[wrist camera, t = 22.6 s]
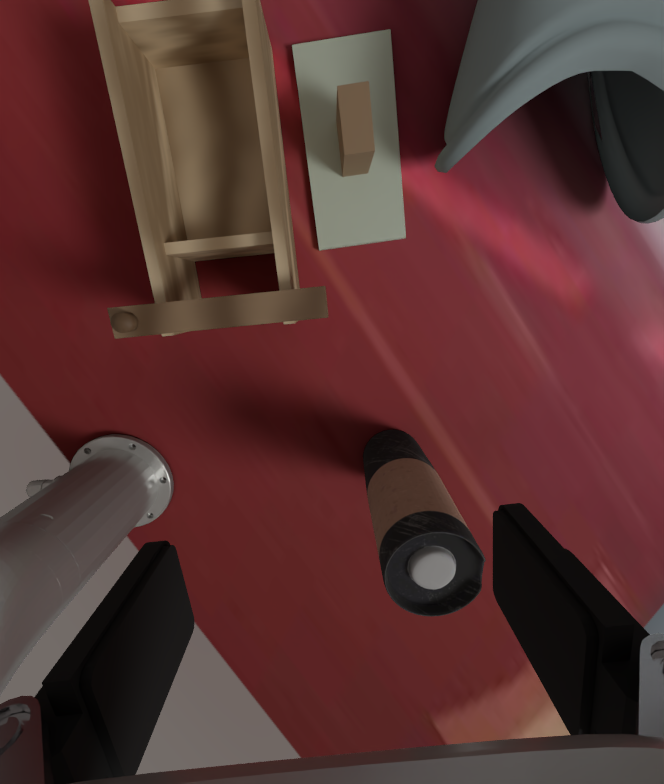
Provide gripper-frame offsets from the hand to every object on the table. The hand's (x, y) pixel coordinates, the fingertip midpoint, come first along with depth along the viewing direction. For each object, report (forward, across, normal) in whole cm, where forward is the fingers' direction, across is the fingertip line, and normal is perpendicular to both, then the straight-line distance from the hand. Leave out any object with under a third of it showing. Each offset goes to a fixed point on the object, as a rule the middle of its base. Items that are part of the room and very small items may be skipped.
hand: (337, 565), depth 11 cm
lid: (+33, -5, -21) cm, 40 cm away
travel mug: (+33, -6, +12) cm, 36 cm away
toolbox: (+33, +8, -18) cm, 38 cm away
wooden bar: (+24, +8, -7) cm, 26 cm away
